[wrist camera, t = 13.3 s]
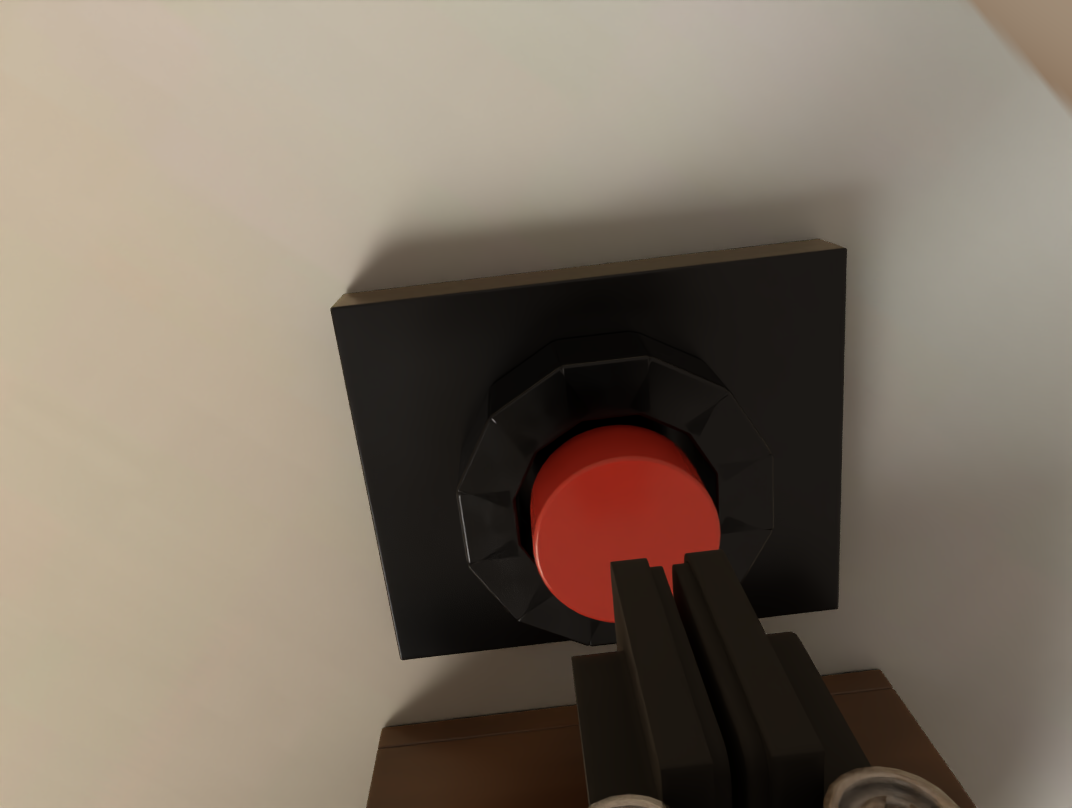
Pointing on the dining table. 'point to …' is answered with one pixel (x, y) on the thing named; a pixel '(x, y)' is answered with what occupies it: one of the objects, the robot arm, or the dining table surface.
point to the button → (615, 512)
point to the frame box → (557, 760)
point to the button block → (595, 424)
